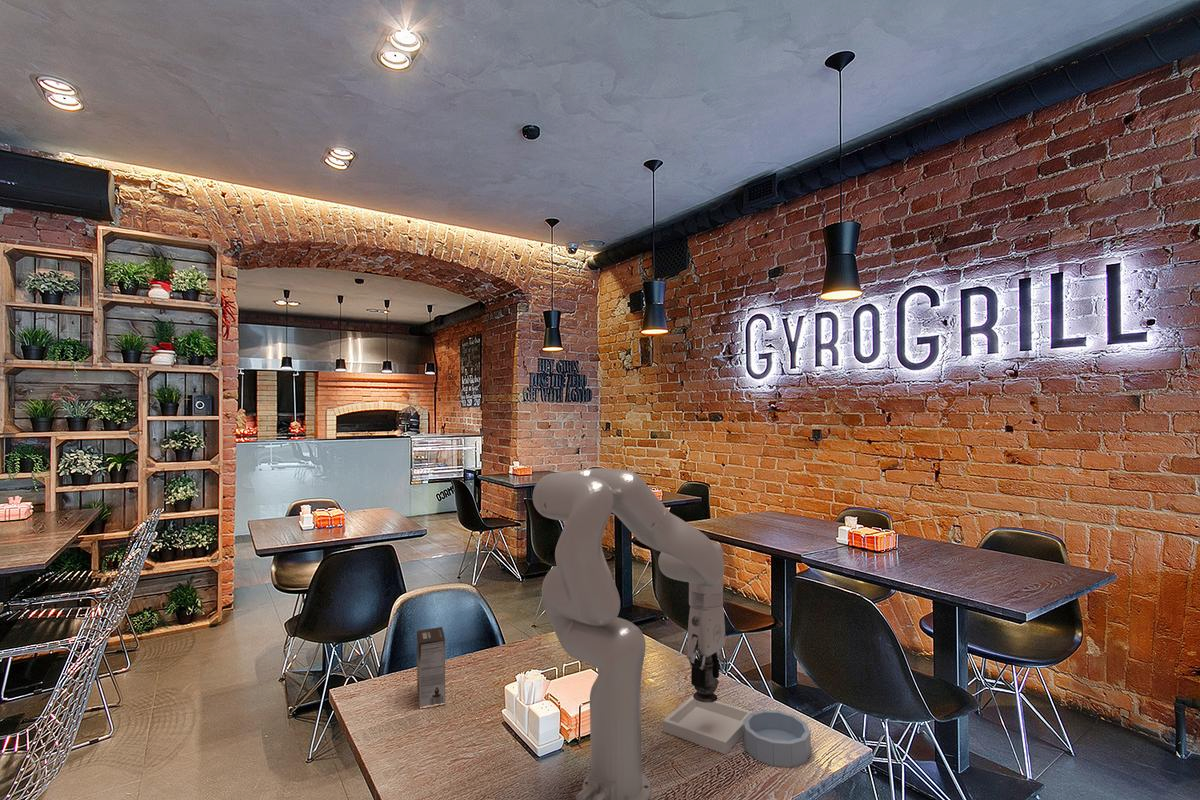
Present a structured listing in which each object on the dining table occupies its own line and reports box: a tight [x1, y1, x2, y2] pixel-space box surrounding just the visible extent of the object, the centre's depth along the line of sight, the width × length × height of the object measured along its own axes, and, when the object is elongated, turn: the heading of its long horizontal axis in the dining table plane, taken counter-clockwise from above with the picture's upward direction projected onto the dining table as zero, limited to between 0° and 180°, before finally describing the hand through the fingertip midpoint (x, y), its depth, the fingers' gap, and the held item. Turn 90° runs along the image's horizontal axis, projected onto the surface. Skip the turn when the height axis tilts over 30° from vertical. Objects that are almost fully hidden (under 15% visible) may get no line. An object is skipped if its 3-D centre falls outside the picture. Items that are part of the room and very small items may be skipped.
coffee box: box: [416, 626, 446, 707], centre depth 143 cm, size 9×6×16 cm
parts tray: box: [662, 694, 754, 756], centre depth 128 cm, size 15×15×2 cm
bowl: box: [743, 709, 812, 768], centre depth 120 cm, size 13×13×4 cm
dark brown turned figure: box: [692, 650, 720, 703], centre depth 128 cm, size 6×6×12 cm
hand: (705, 680), depth 128 cm, fingers closed on dark brown turned figure, 5 cm apart
